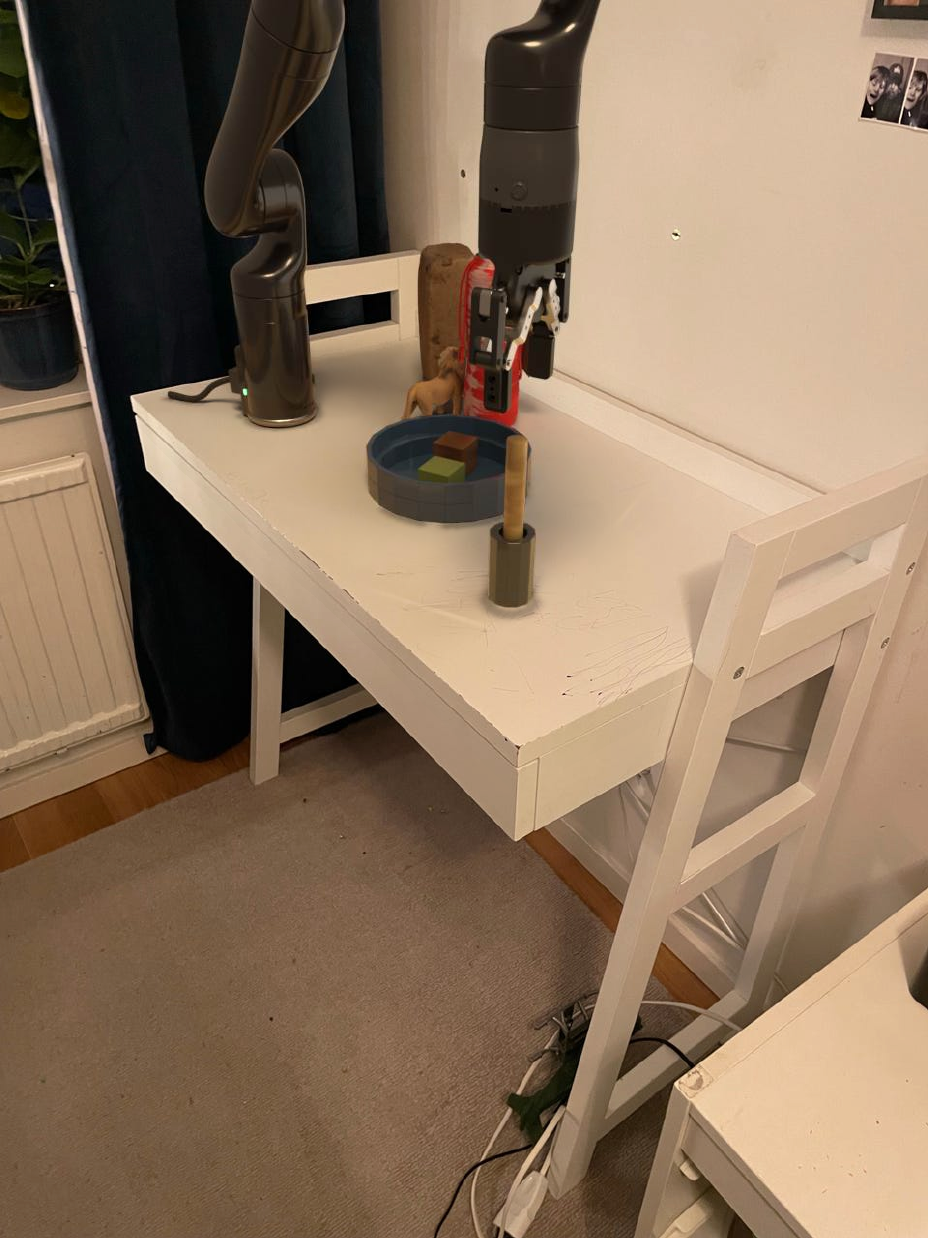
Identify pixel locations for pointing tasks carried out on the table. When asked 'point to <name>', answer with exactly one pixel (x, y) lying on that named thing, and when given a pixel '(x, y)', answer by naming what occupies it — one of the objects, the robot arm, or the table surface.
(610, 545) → the table surface
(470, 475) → the bowl
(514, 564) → the holder
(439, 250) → the block
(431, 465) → the olive block
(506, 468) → the stirring stick
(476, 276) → the water bottle
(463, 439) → the walnut block
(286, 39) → the robot arm
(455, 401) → the lion figurine
